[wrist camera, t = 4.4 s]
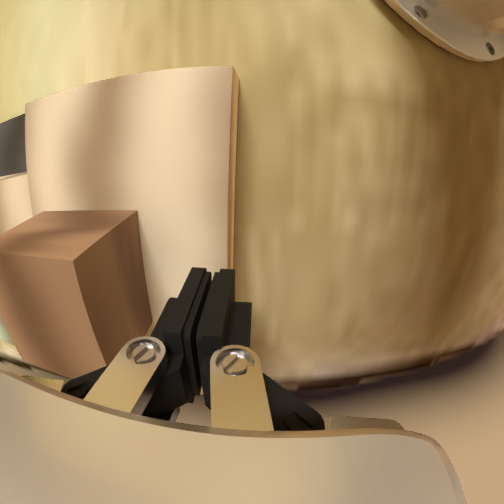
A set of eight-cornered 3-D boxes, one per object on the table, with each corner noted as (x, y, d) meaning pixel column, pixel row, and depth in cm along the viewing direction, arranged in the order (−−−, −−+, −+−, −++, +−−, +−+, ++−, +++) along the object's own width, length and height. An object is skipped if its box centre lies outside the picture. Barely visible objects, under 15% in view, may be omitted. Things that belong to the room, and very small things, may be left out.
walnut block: (137, 210, 11) (73, 260, 7) (152, 321, 14) (118, 392, 9) (43, 211, 12) (-23, 250, 7) (66, 306, 14) (22, 360, 9)
